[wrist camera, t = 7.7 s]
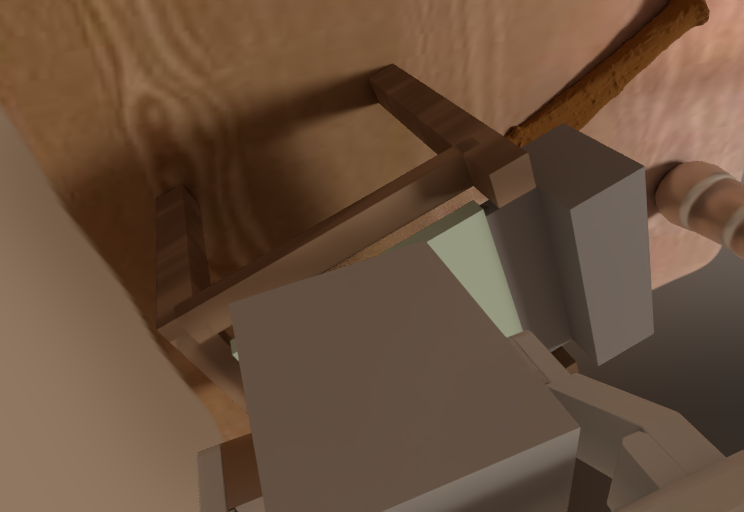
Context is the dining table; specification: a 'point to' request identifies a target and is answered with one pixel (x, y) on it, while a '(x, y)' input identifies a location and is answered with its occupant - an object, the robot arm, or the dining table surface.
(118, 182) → the dining table surface
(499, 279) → the trapdoor
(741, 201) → the plastic bottle
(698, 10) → the primitive tool
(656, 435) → the robot arm
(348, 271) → the light grey block
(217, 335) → the stand
